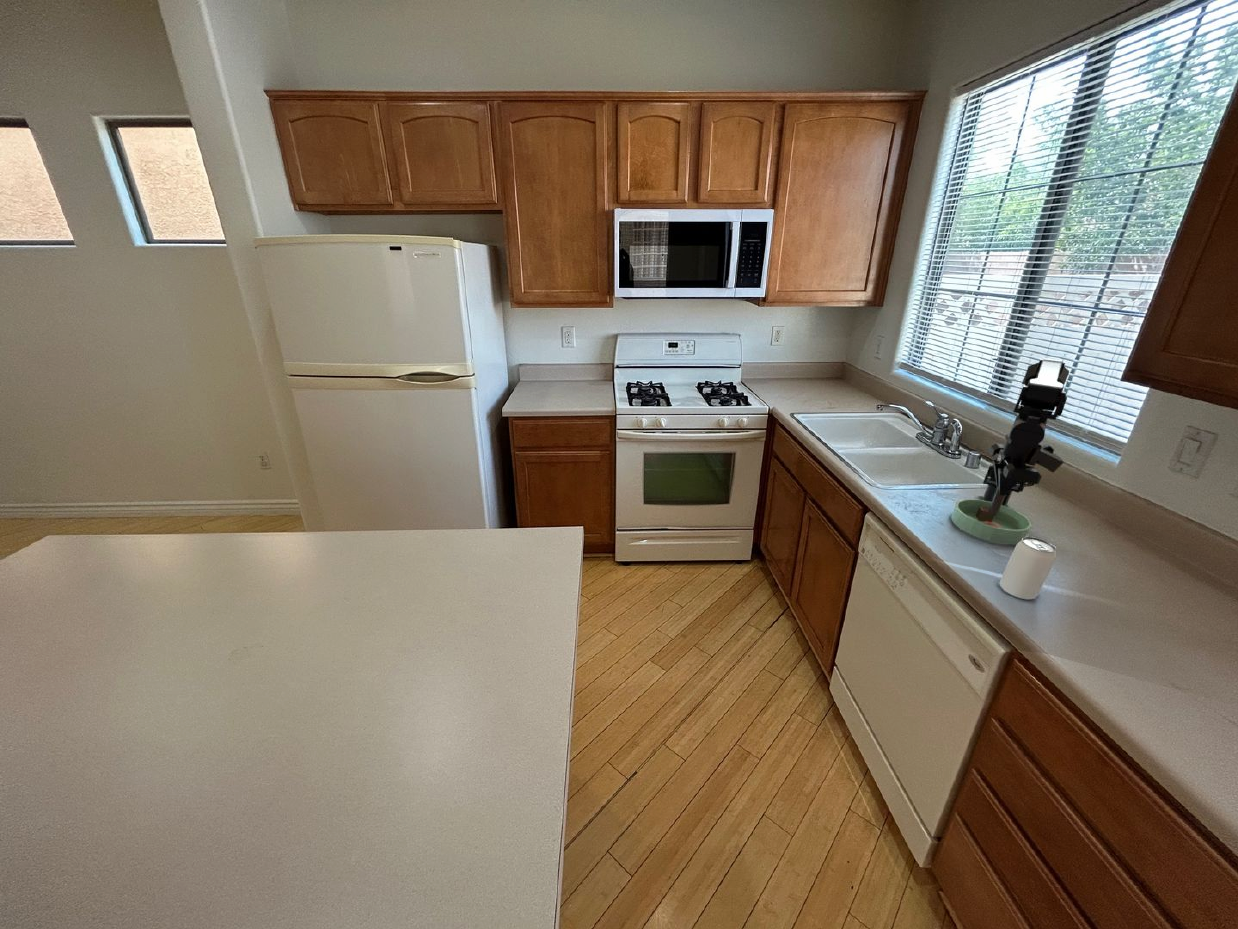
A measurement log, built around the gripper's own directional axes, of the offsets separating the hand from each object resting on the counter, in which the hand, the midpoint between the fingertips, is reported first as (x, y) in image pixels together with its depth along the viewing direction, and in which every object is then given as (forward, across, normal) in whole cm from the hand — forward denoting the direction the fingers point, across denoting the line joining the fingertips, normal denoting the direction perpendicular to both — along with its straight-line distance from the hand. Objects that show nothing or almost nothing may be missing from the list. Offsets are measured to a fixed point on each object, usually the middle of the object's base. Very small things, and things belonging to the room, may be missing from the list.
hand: (1000, 493), depth 119 cm
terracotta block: (+11, -2, 0) cm, 11 cm away
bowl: (+11, +2, -1) cm, 12 cm away
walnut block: (+11, +7, -1) cm, 13 cm away
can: (+12, -26, -1) cm, 28 cm away
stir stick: (+6, 0, 0) cm, 6 cm away
